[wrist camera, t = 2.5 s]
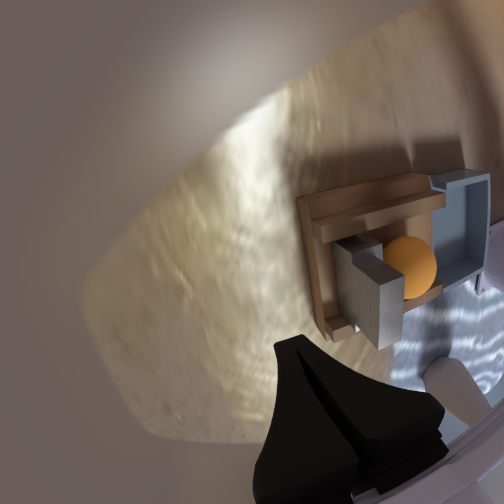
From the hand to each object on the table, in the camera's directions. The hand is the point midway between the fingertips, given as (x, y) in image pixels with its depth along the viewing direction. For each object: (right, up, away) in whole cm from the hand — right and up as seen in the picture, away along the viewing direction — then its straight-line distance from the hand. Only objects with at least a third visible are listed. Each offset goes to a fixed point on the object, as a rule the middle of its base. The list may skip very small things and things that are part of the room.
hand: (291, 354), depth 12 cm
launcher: (+7, +5, +8) cm, 11 cm away
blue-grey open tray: (+15, +7, +9) cm, 19 cm away
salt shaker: (+21, -10, +16) cm, 28 cm away
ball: (+8, +4, +4) cm, 10 cm away
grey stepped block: (+4, +3, +5) cm, 8 cm away
